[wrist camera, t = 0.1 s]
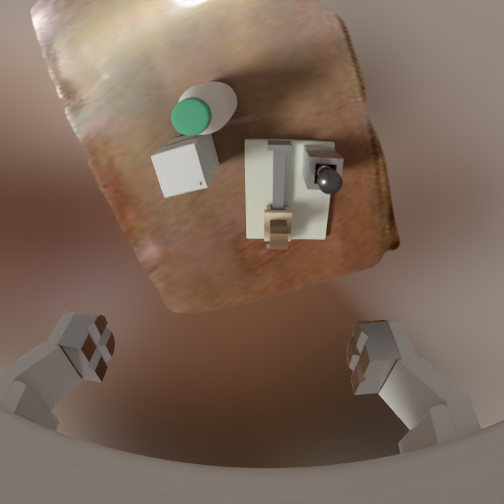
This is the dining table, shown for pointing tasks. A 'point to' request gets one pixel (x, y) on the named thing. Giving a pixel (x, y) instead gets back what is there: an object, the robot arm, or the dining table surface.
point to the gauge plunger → (328, 179)
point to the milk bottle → (204, 108)
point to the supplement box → (186, 164)
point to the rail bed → (293, 190)
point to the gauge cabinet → (319, 156)
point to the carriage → (277, 227)
